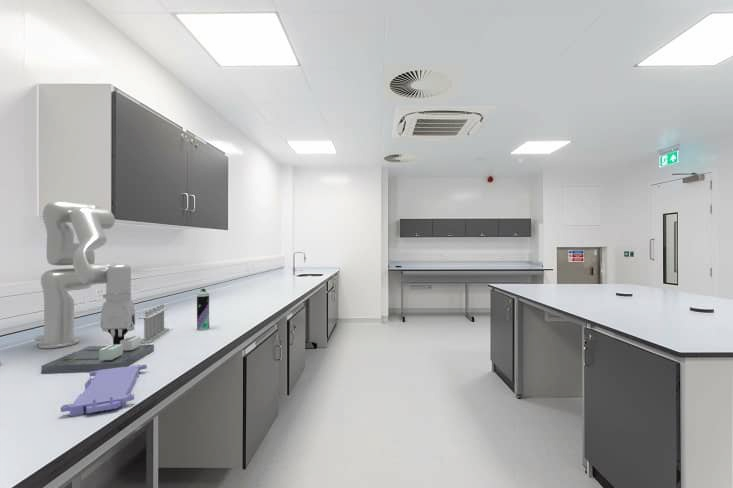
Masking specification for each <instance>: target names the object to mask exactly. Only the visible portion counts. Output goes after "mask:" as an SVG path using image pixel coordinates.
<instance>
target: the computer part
mask: <svg viewBox="0 0 733 488" xmlns="http://www.w3.org/2000/svg"><path fill="white" fill-rule="evenodd" d="M147 368H148V365H147V364H135V365H129V366H127V367H119V368H111V369H103V370H99V371H92V372H89V377H93V378H89V379H88V380H87V381H86V382H85V383H84V391H83V392H82V393H80V394H79V395H78V396H77V398H76V399H75V400H74V401H73V402H72V403H68V404H63V405H61V406H60V412H61V413H64V412H66V413H67V412H69V417H70V418H72V417H77V416H78V417H79V416H84V415H85V414H90V413H91V414H92V413H96V412H98V411H99V412H105V411H110V410H114V409H115V410H116V409H124V408H125V406H126V403H127V402H130V401H133V400H135V394H134V393H133V394H132V393H131V392H132V390H133V388H134V386H135V383H136V381H137V379H138V377H139V375H140V372H141V371H142V370H146V369H147ZM104 410H105V411H104Z"/></svg>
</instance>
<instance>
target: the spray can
mask: <svg viewBox="0 0 733 488" xmlns="http://www.w3.org/2000/svg"><path fill="white" fill-rule="evenodd" d="M209 294H210V293H209V292H207V290H206V288H200V291H199V292H198V293H197V294H196V330H197V331H207V330H210V295H209Z"/></svg>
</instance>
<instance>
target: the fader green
mask: <svg viewBox="0 0 733 488" xmlns="http://www.w3.org/2000/svg"><path fill="white" fill-rule="evenodd" d="M106 346H107V347H104V348H102V349H100V350H99V360H113V359H115V358H117V357H118V356H120V355H122V354H123V344H119V345H118V344H114V345H113V344H109V345H106Z"/></svg>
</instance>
